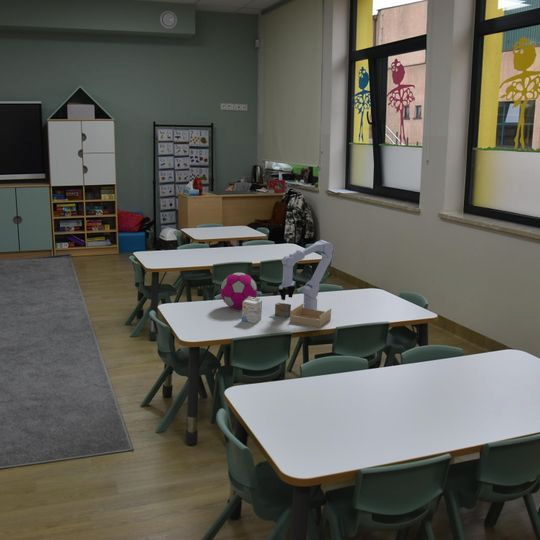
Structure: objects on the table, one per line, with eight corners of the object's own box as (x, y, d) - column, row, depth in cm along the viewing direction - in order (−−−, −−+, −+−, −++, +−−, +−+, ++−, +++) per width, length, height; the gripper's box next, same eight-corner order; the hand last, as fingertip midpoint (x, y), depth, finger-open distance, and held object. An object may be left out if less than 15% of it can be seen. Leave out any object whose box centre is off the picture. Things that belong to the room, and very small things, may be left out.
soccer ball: (249, 315, 397) (250, 278, 392) (214, 310, 404) (215, 275, 399) (261, 305, 418) (262, 271, 413) (228, 301, 424) (228, 267, 419)
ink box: (241, 320, 386) (242, 298, 383) (248, 317, 394) (249, 295, 390) (254, 323, 382) (255, 300, 379) (261, 319, 390) (262, 297, 387)
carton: (301, 314, 402) (302, 303, 400) (330, 319, 394) (331, 308, 393) (289, 322, 386) (290, 311, 384) (319, 327, 378) (320, 315, 377)
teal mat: (277, 312, 404) (277, 312, 404) (294, 315, 400) (294, 314, 400) (269, 317, 395) (269, 316, 395) (286, 320, 390) (286, 319, 390)
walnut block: (277, 313, 401) (278, 302, 399) (290, 315, 397) (290, 304, 396) (274, 315, 397) (275, 304, 395) (287, 317, 393) (287, 306, 392)
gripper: (286, 279, 389) (285, 302, 392) (300, 275, 401) (298, 297, 404) (276, 277, 393) (275, 300, 396) (290, 273, 405) (289, 295, 408)
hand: (286, 298), depth 400 cm, fingers open, 7 cm apart
